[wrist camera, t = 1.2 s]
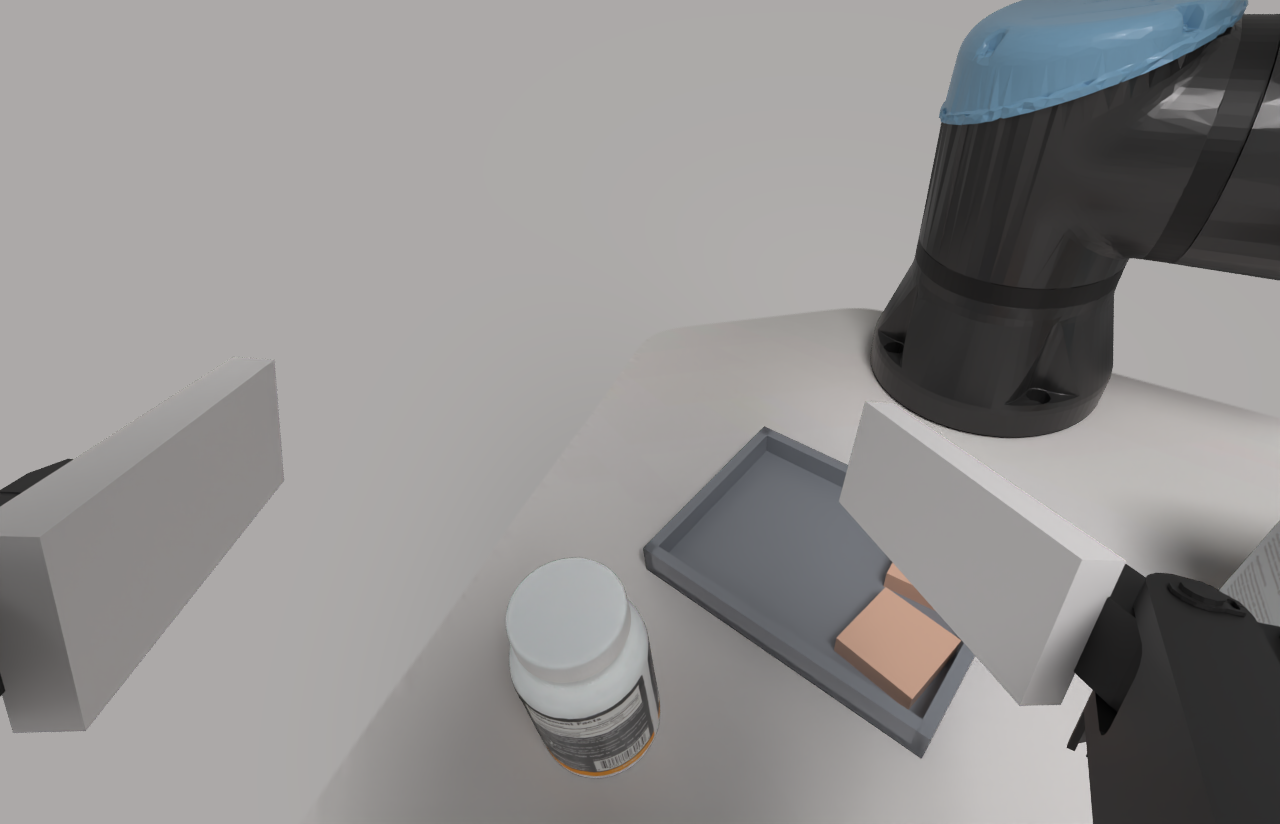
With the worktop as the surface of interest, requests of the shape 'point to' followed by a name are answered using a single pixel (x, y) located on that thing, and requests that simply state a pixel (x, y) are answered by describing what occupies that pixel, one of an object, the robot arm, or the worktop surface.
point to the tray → (795, 575)
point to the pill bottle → (583, 666)
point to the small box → (1259, 580)
